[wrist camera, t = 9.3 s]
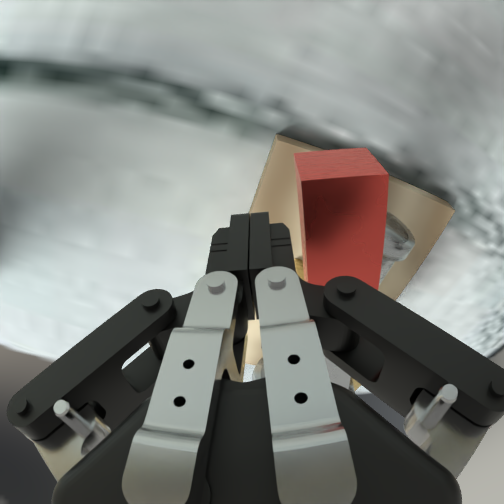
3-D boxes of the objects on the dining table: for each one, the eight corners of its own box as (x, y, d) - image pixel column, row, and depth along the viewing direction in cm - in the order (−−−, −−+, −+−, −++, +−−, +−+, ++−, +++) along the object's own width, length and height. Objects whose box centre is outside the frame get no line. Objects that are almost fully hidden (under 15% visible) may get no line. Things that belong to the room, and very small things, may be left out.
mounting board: (205, 343, 34) (203, 354, 33) (276, 133, 21) (277, 139, 20) (331, 366, 36) (332, 377, 35) (447, 201, 23) (455, 210, 22)
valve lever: (349, 387, 21) (354, 418, 19) (305, 392, 22) (307, 424, 20) (371, 147, 11) (394, 173, 9) (288, 153, 12) (294, 181, 10)
